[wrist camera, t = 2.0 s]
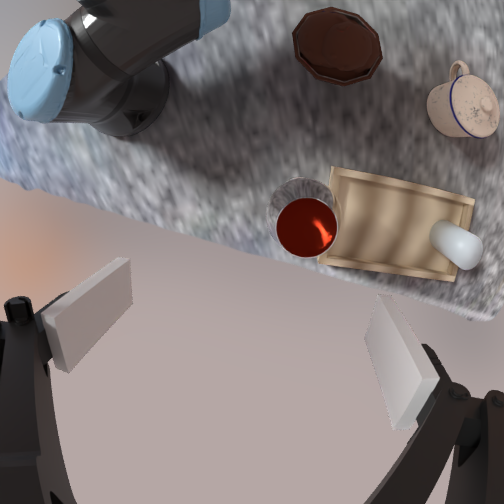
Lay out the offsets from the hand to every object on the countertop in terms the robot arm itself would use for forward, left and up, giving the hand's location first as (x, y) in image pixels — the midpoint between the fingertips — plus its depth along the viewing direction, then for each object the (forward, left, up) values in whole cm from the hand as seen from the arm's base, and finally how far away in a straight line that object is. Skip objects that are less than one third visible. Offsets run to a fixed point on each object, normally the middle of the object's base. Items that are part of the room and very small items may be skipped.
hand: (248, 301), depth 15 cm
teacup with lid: (+26, +21, -32) cm, 46 cm away
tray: (+20, -1, -31) cm, 37 cm away
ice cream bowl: (+6, +22, -32) cm, 39 cm away
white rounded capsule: (+28, -1, -30) cm, 41 cm away
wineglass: (+4, +1, -32) cm, 32 cm away
